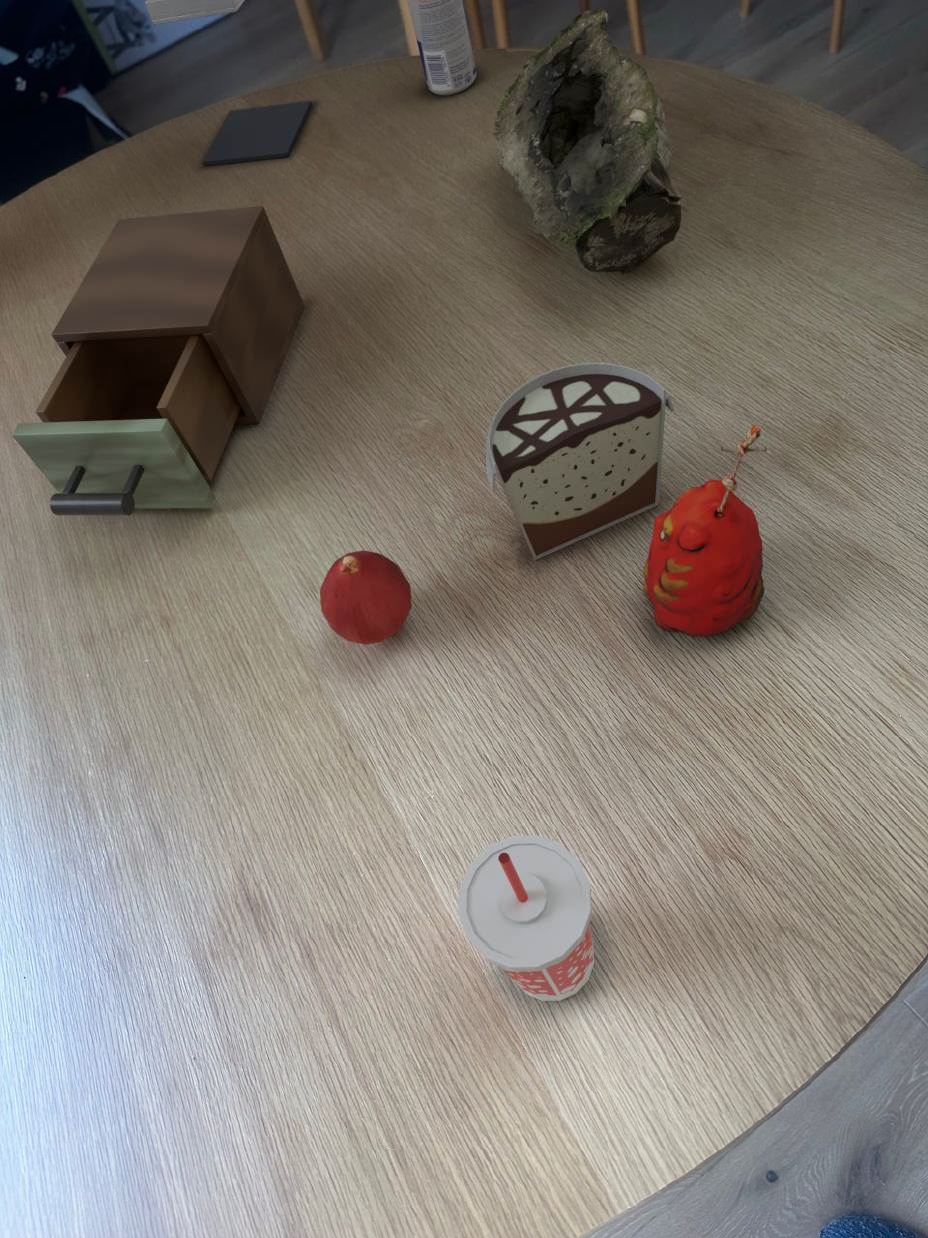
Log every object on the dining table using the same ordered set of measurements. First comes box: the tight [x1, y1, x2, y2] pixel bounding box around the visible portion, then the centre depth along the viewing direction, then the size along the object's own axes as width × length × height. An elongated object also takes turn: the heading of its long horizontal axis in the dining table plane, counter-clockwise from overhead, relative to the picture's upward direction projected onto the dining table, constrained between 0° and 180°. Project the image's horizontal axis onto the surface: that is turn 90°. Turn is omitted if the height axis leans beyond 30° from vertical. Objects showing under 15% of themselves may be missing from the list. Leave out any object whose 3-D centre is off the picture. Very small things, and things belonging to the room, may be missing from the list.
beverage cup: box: [457, 834, 595, 1002], centre depth 46 cm, size 6×6×14 cm
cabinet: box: [50, 205, 305, 425], centre depth 82 cm, size 15×14×10 cm
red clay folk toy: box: [642, 424, 768, 638], centre depth 56 cm, size 8×7×15 cm
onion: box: [319, 550, 412, 645], centre depth 63 cm, size 6×6×8 cm
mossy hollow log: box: [492, 8, 683, 275], centre depth 82 cm, size 28×13×15 cm
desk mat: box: [202, 100, 313, 167], centre depth 108 cm, size 10×10×1 cm
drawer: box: [11, 334, 241, 516], centre depth 76 cm, size 18×12×8 cm
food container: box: [485, 362, 675, 561], centre depth 65 cm, size 12×6×10 cm, turn 111°
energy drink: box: [406, 0, 477, 96], centre depth 101 cm, size 5×5×12 cm
